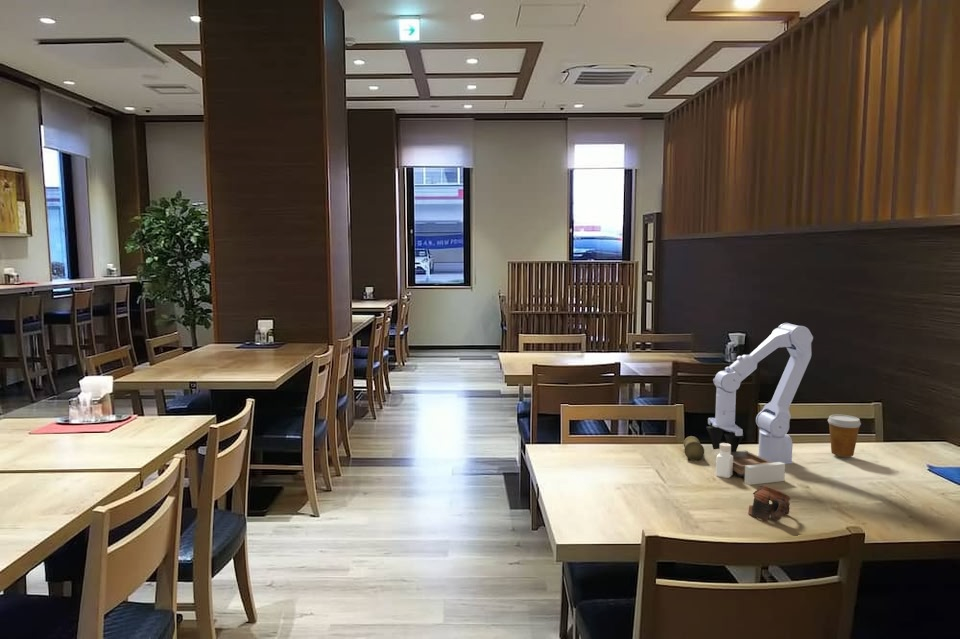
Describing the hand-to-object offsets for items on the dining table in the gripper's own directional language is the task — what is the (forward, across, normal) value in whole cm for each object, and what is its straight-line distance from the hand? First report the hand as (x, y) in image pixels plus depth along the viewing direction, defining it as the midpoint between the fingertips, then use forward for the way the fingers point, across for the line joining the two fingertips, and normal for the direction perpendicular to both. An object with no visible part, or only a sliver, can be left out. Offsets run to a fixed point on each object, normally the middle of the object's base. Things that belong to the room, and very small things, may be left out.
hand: (723, 452), depth 206 cm
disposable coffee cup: (+3, +4, +42) cm, 42 cm away
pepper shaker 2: (+3, +11, -8) cm, 14 cm away
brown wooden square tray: (+3, +10, 0) cm, 11 cm away
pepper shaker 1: (0, -3, -8) cm, 9 cm away
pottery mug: (+4, +41, -18) cm, 45 cm away
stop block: (+3, +19, 0) cm, 19 cm away
